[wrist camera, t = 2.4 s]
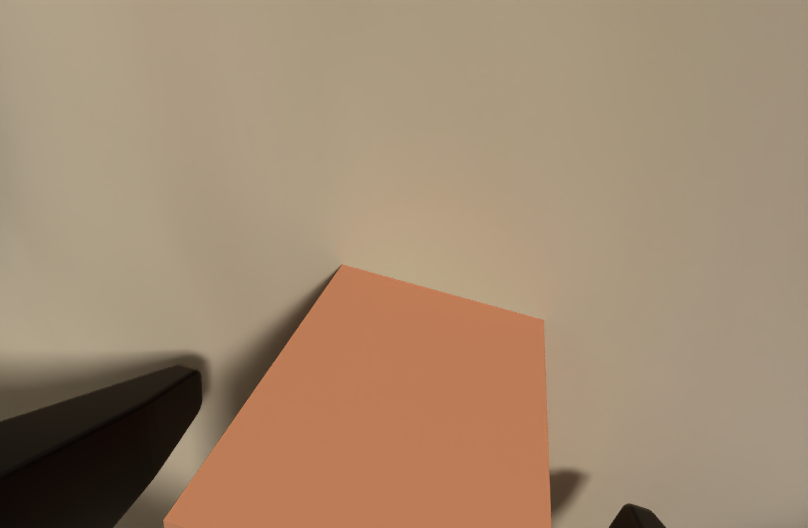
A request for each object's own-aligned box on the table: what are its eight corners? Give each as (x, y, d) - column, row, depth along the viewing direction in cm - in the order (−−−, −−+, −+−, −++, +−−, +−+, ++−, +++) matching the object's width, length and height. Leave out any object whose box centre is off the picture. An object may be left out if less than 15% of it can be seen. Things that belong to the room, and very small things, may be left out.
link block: (543, 318, 8) (556, 657, 4) (465, 511, 11) (425, 829, 7) (343, 262, 9) (163, 520, 4) (317, 463, 12) (191, 737, 7)
